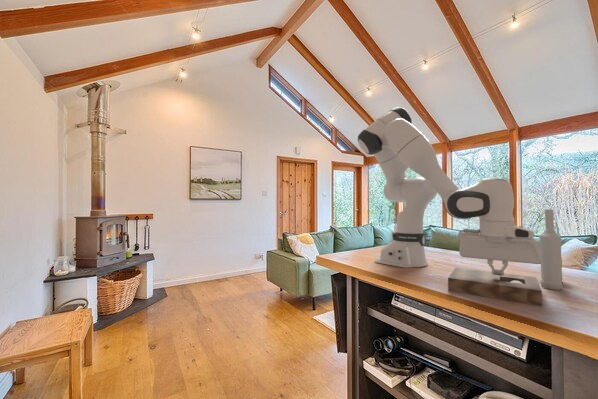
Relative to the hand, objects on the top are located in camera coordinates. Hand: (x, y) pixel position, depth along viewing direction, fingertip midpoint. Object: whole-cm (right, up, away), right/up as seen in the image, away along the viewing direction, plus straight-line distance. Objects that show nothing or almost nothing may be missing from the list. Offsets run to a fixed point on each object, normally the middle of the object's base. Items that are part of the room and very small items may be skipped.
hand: (497, 274), depth 83 cm
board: (-1, -5, +1) cm, 5 cm away
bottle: (+19, -5, +3) cm, 20 cm away
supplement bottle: (+26, -5, +10) cm, 29 cm away
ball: (+4, -3, -3) cm, 5 cm away
